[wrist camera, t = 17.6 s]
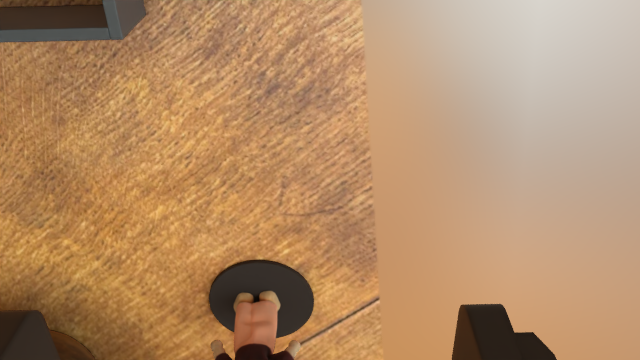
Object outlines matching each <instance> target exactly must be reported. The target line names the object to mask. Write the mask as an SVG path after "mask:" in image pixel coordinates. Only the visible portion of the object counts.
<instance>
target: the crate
mask: <svg viewBox="0 0 640 360" xmlns="http://www.w3.org/2000/svg"><path fill="white" fill-rule="evenodd" d="M102 3H103V5H80V6H37V7H0V42H39V41H83V40H110V39H111V40H122V39H124V38H125V37H126V35H127V34H128V33H129V32H130V31H131V30H132V29H133V28H134V27H135V26H136V25H137V24H138V23H139V22H140V21H141V20H142V19H143V18H144V16H145V15H146V12H145V7H144V1H143V0H102Z"/></svg>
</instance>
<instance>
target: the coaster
mask: <svg viewBox="0 0 640 360" xmlns="http://www.w3.org/2000/svg"><path fill="white" fill-rule="evenodd" d="M263 291H272V292H274V293H275V294H276V296H277V298H278V300H279V302H280V308H279V310H278V311H277V331H276V338H279V337H283V336H286V335H289V334H291V333H293V332H295V331H297V330H298V329H300V328H301V327H302V326H303V325H304V324H305V323H306V322H307V321H308V319H309V317H310V316H311V313H312V311H313V305H314V298H313V293H312V290H311V288H310V286H309V284H308V282H307V281H306V280H305V279H304V278H303V277H302V276H301V275H300V274H299V273H298V272H296V271H295V270H293V269H292V268H290V267H288V266H286V265H283V264H280V263H276V262H272V261H265V260H253V261H246V262H242V263H238V264H235V265H233V266H231V267H229V268H227V269H226V270H224V271H223V272H222V273H221V274H220V275H219V276H218V277H217V278H216V279H215V281H214V282H213V284H212V286H211V290H210V294H209V303H210V307H211V310H212V312H213V314H214V316H215V317H216V318H217V320H218V321H219V322H220V323H221V324H222V325H223V326H225V327H226V328H228V329H229V330H231V331H233V332H234V328H235V317H236V312H235V310H234V303H235V300H236V298H237V296H238V294H240V293H250V294H251V295H253V297H254V303H256V302H259V295H260V293H261V292H263Z"/></svg>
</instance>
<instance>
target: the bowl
mask: <svg viewBox="0 0 640 360" xmlns="http://www.w3.org/2000/svg"><path fill="white" fill-rule="evenodd" d="M49 332H50V334H51V337H52V339H53V342H54V344H55V347H56V349H57V352H58V354H59V357H60V359H61V360H95V358H94V356H93V355H92V354H91V353H90V351H89V350H88V349H87V348H86V347H85V346H83V345H82V344H80V343H79V342H78V341H76V340H75V339H73V338H72V337H70V336H68V335H65V334H63V333H59V332H55V331H52V330H49Z"/></svg>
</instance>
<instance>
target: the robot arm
mask: <svg viewBox="0 0 640 360" xmlns="http://www.w3.org/2000/svg"><path fill="white" fill-rule="evenodd" d="M0 360H61V359H60V357H59V354H58V352H57V349H56V347H55V344H54V342H53V339H52V337H51V334H50V332H49V329H48V327H47V324H46V322H45V319H44V317H43V315H42V314H41V312H39V311H37V310H17V311H0ZM452 360H557V359H556V357H555V355H554V354H553V353H552V352H551V351H550V350H549V349H548V347H547V346H546V345H545V344H544V343H543V342H542V341H541V340H540V339H539V338H538V337H537V336H536V335H535V334H534V333H533V332H526V333H514V331H513V328H512V325H511V323H510V320H509V318H508V315H507V312H506V310H505V308H504V307H503V305H501V304H479V305H478V304H476V305H461V306H460V309H459V314H458V321H457V328H456V334H455V341H454V348H453V354H452Z"/></svg>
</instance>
